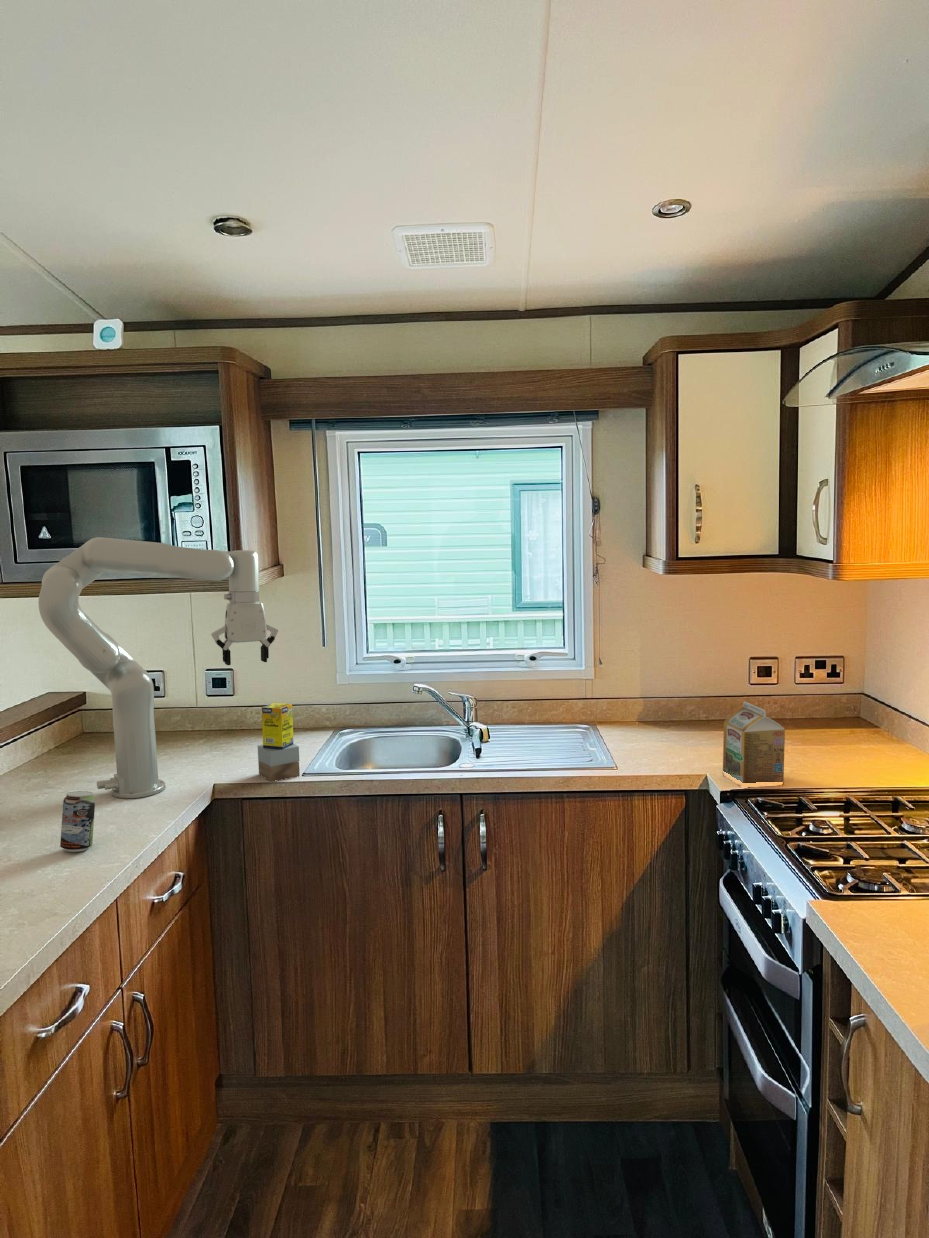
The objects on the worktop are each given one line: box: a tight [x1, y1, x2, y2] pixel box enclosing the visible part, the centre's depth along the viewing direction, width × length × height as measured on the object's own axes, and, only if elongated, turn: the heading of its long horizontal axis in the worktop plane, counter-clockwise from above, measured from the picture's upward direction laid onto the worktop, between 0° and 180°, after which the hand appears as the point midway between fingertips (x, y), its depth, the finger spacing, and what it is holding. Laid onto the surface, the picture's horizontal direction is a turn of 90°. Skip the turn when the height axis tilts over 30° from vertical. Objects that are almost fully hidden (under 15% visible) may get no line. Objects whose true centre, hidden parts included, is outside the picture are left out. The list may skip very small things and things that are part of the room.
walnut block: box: [257, 760, 301, 783], centre depth 222 cm, size 8×8×4 cm
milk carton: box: [722, 701, 786, 783], centre depth 210 cm, size 10×11×19 cm
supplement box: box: [261, 702, 294, 749], centre depth 221 cm, size 6×6×11 cm
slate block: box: [257, 743, 300, 767], centre depth 222 cm, size 8×8×4 cm
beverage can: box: [59, 790, 96, 853], centre depth 174 cm, size 6×7×12 cm
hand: (246, 663), depth 222 cm, fingers open, 9 cm apart
